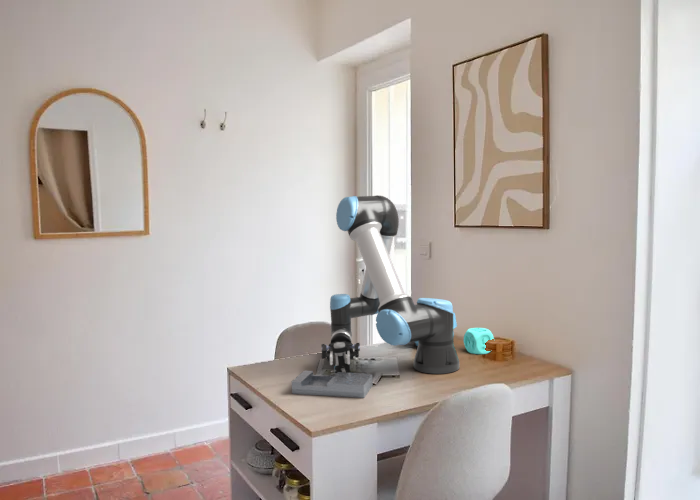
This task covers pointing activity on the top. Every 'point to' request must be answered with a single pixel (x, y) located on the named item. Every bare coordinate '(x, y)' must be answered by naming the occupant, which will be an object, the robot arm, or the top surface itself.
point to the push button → (340, 358)
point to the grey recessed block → (333, 384)
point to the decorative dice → (477, 340)
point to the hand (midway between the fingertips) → (339, 360)
